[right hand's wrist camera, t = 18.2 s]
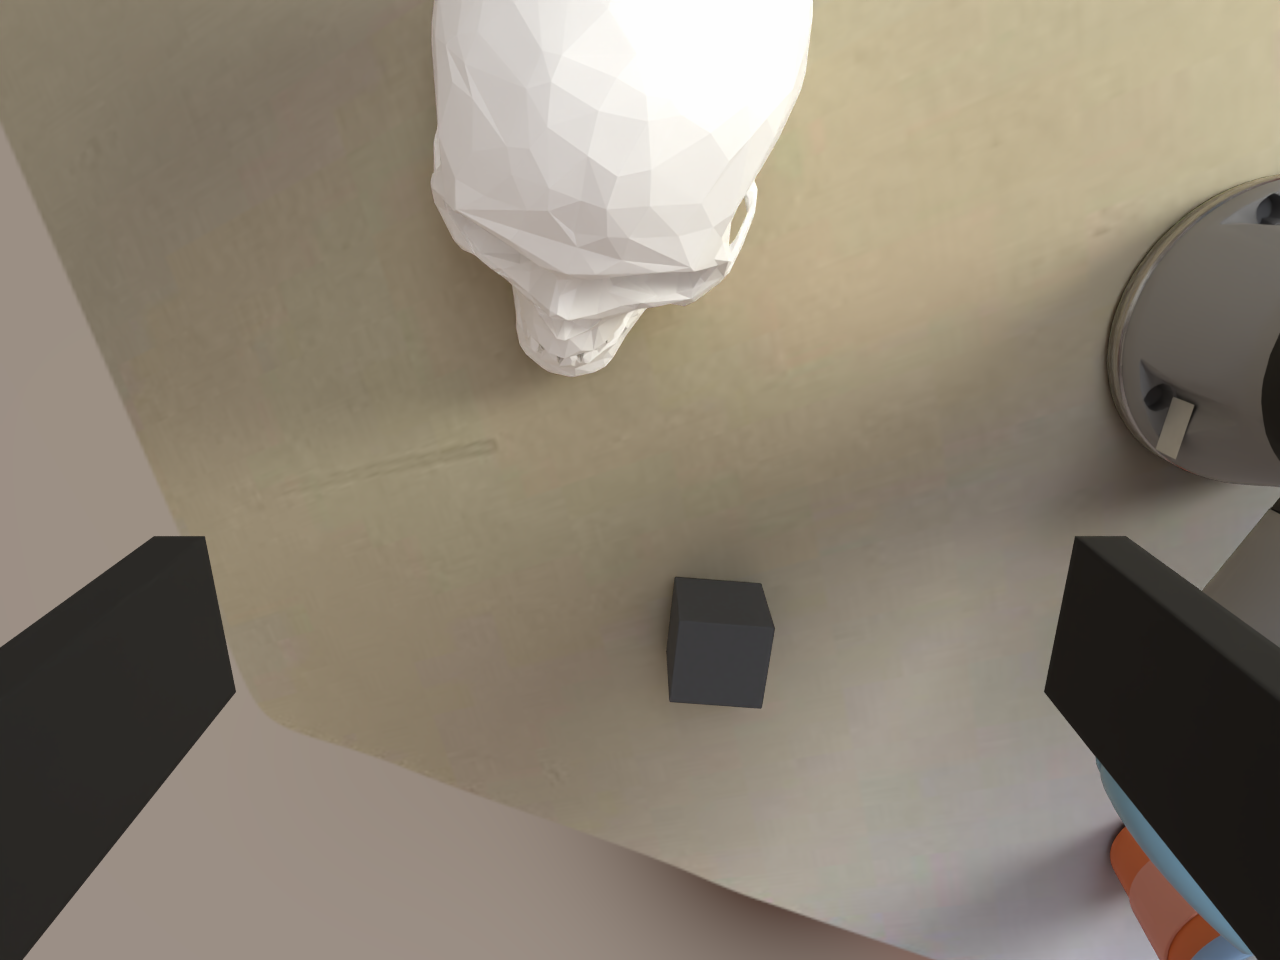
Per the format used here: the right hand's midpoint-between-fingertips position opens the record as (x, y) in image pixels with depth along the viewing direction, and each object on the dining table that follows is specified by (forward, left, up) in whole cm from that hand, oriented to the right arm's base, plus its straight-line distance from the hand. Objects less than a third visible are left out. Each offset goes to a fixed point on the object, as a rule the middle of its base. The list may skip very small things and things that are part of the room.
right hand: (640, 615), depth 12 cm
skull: (-7, -4, -31) cm, 32 cm away
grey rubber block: (+15, +10, -31) cm, 36 cm away
